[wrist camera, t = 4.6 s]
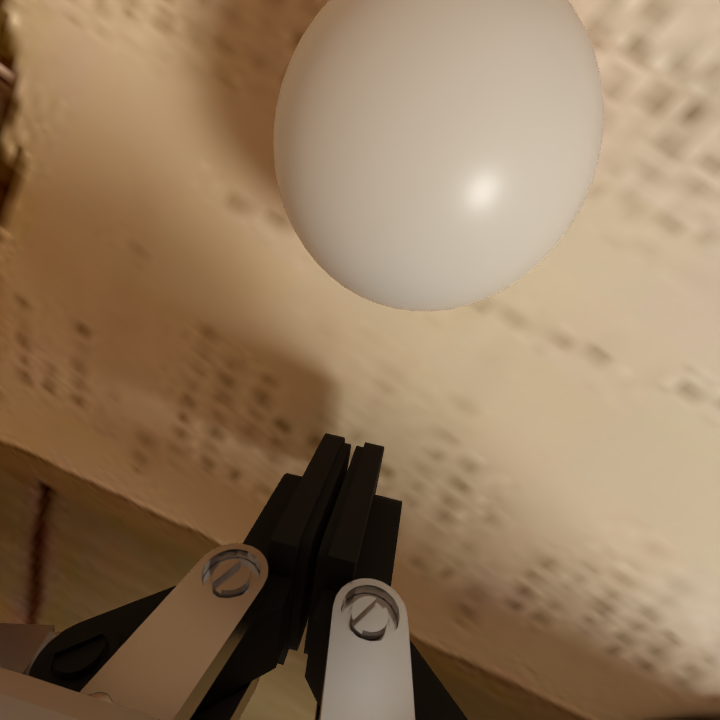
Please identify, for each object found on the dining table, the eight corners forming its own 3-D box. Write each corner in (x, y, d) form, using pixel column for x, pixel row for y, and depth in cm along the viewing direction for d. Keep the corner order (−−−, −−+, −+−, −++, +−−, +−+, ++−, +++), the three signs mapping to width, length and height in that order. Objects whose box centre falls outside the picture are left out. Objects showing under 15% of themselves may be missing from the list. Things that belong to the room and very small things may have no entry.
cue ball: (513, 306, 11) (574, 388, 5) (312, 265, 11) (201, 304, 6) (591, 53, 9) (799, -181, 4) (341, 23, 9) (213, -209, 4)
